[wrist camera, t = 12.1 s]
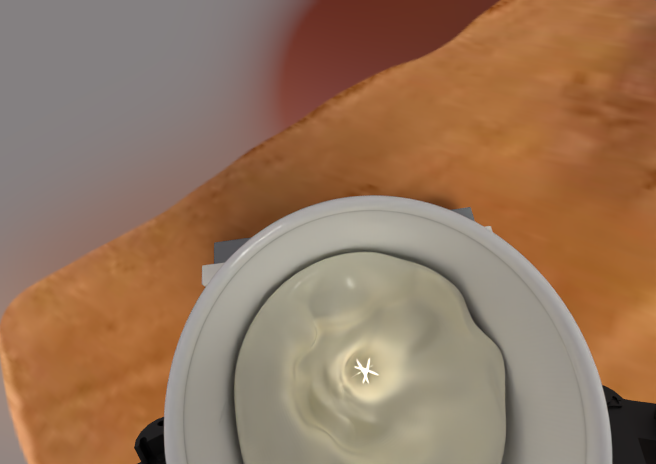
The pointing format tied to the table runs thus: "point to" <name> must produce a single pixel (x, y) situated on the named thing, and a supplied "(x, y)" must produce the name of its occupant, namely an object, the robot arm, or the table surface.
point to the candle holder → (382, 349)
